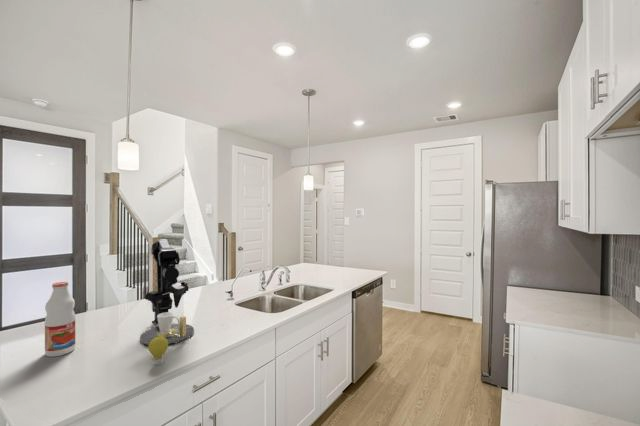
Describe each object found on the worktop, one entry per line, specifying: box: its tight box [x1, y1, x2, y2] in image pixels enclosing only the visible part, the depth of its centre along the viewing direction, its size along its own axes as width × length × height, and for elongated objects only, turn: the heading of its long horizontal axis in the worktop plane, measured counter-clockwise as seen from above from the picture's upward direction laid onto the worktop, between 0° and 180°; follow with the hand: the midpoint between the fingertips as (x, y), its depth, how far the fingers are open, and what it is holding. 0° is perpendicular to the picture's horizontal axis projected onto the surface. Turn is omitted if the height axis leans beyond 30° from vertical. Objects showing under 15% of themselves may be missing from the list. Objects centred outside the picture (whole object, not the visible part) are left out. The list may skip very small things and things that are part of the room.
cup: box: [157, 311, 180, 334], centre depth 138 cm, size 7×10×8 cm
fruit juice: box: [44, 281, 76, 358], centre depth 122 cm, size 9×9×28 cm
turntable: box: [139, 315, 195, 346], centre depth 138 cm, size 22×22×10 cm
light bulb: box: [147, 336, 169, 366], centre depth 113 cm, size 7×7×10 cm
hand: (168, 310), depth 138 cm, fingers open, 9 cm apart
